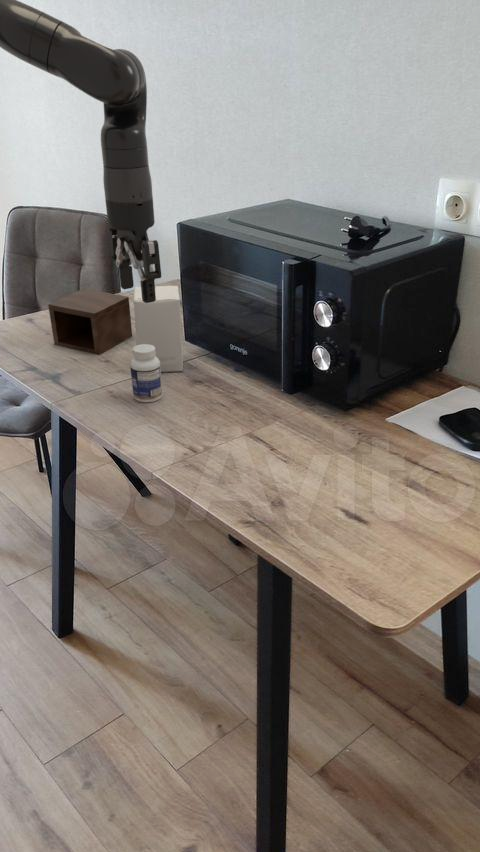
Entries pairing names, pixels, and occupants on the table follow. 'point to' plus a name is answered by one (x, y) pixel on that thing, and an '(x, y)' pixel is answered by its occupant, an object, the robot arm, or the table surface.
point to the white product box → (161, 326)
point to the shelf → (90, 320)
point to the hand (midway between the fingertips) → (138, 294)
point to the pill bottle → (146, 374)
